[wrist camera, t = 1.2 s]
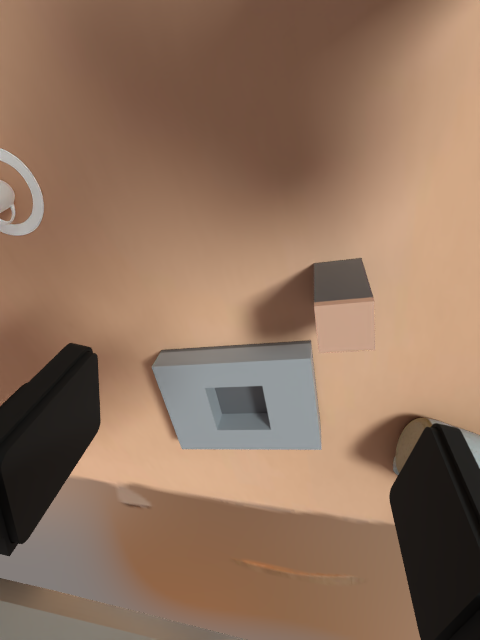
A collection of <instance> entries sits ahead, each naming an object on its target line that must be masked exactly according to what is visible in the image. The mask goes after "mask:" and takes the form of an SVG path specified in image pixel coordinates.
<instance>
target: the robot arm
mask: <svg viewBox="0 0 480 640" xmlns="http://www.w3.org/2000/svg"><path fill="white" fill-rule="evenodd" d="M99 426H100V400H99V378H98V358H97V354H95V353H93V352H92V349H91V348H90V347H87V346H82V345H78V344H73V343H69V344H68V345H66V346H65V347H64V348H63V349H62V350H61V351H60V352H59V353H58V354H57V355H56V356H55V357H54V358H53V359H52V360H51V361H50V362H49V363H48V364H47V365H46V366H45V367H44V368H43V369H42V370H41V371H40V372H39V373H38V374H37V375H36V376H35V377H33V378H32V379H31V380H30V381H29V382H28V383H25V384H24V385H23V386H21V387H20V388H19V389H18V390H17V391H16V392H15V393H14V394H13V395H12V396H11V397H10V398H9V399H8V400H7V401H6V402H4V403H3V404H2V405H1V406H0V554H2V555H7V556H10V555H11V553H12V552H13V550H14V549H15V547H16V546H17V544H18V543H19V544H23V543H24V542H26V540H27V539H28V538H29V537H30V535H31V534H32V532H33V530H34V529H35V527H36V526H37V524H38V523H39V521H40V520H41V518H42V517H43V515H44V514H45V512H46V510H47V509H48V507H49V506H50V504H51V503H52V501H53V500H54V498H55V497H56V495H57V494H58V492H59V490H60V489H61V487H62V486H63V484H64V483H65V481H66V480H67V478H68V477H69V475H70V474H71V472H72V471H73V469H74V467H75V466H76V464H77V463H78V461H79V460H80V458H81V457H82V455H83V454H84V452H85V451H86V449H87V447H88V446H89V444H90V443H91V441H92V440H93V438H94V437H95V435H96V434H97V432H98V429H99ZM390 504H391V509H392V513H393V518H394V522H395V527H396V531H397V536H398V540H399V544H400V549H401V554H402V557H403V563H404V567H405V571H406V576H407V581H408V585H409V590H410V594H411V598H412V603H413V608H414V612H415V617H416V621H417V626H418V630H419V634H420V638H421V640H480V468H479V466H478V464H477V462H476V460H475V458H474V456H473V454H472V452H471V450H470V448H469V446H468V444H467V442H466V440H465V438H464V436H463V434H462V432H461V430H460V429H458V428H456V427H452V426H447V425H443V424H438V423H435V424H433V425H432V426H431V427H426V428H425V429H424V430H423V432H422V434H421V436H420V437H419V439H418V441H417V443H416V445H415V446H414V448H413V450H412V452H411V453H410V455H409V457H408V459H407V461H406V462H405V464H404V466H403V468H402V470H401V471H400V473H399V475H398V477H397V478H396V480H395V482H394V484H393V486H392V487H391V490H390ZM0 640H246V639H242V638H238V637H234V636H230V635H227V634H223V633H219V632H215V631H211V630H207V629H203V628H199V627H196V626H192V625H188V624H184V623H180V622H176V621H172V620H168V619H164V618H160V617H156V616H153V615H148V614H145V613H141V612H136V611H133V610H129V609H125V608H121V607H116V606H113V605H109V604H104V603H101V602H97V601H93V600H89V599H85V598H81V597H77V596H73V595H69V594H65V593H61V592H57V591H53V590H49V589H45V588H40V587H36V586H31V585H28V584H23V583H19V582H14V581H10V580H6V579H2V578H0Z"/></svg>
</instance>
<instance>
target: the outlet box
mask: <svg viewBox="0 0 480 640" xmlns="http://www.w3.org/2000/svg"><path fill="white" fill-rule="evenodd" d="M152 370H153V372H154V375H155V378H156V380H157V383H158V386H159V389H160V391H161V394H162V397H163V399H164V402H165V405H166V407H167V410H168V413H169V415H170V418H171V421H172V424H173V426H174V429H175V432H176V434H177V437H178V440H179V442H180V445H181V448H182V449H298V450H321V425H320V416H319V407H318V399H317V390H316V381H315V372H314V363H313V355H312V346H311V341H295V342H280V343H264V344H249V345H233V346H218V347H202V348H187V349H171V350H161V352H160V354H159V355H158V357H157V359H156V360H155V362H154V364H153V365H152Z"/></svg>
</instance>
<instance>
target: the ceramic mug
mask: <svg viewBox="0 0 480 640" xmlns="http://www.w3.org/2000/svg"><path fill="white" fill-rule="evenodd" d="M435 423H438V424H443V425H447V426H451V425H449V424H446V423H444V422H441V421H438V420H434V419H429V418H417V419H415V420H413V421H411V422H410V423H409V424H408V425H407V426H406V427H405V428H404V430H403V431H402V433H401V435H400V437H399V440H398V443H397V447H396V456H395V457H394V460H393V471H394V472H395V473H396V474H397V475H399V473H400V471H401V470H402V468H403V466H404V464H405V462H406V461H407V459H408V457H409V455H410V453H411V452H412V450H413V448H414V446H415V445H416V443H417V441H418V439H419V437H420V436H421V434H422V432H423V430H424V429H425V428H426V427H431V426H432V425H433V424H435ZM452 427H454V426H452ZM456 428H458V427H456ZM458 429H460V430H461V432H462V434H463V436H464V438H465V440H466V442H467V444H468V446H469V448H470V450H471V452H472V454H473V456H474V458H475V460H476V462H477V464H478V466H479V468H480V435H478V434H475V433H473V432H470V431H467V430H464V429H461V428H458Z"/></svg>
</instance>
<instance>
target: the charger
mask: <svg viewBox="0 0 480 640" xmlns="http://www.w3.org/2000/svg"><path fill="white" fill-rule="evenodd" d="M314 312H315V321H316V331H317V341H318V350H319V353H334V352H352V351H370V350H375V304H374V298H373V295H372V291H371V288H370V285H369V282H368V278H367V275H366V272H365V268H364V265H363V262H362V258H357V259H348V260H340V261H331V262H322V263H314Z"/></svg>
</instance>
